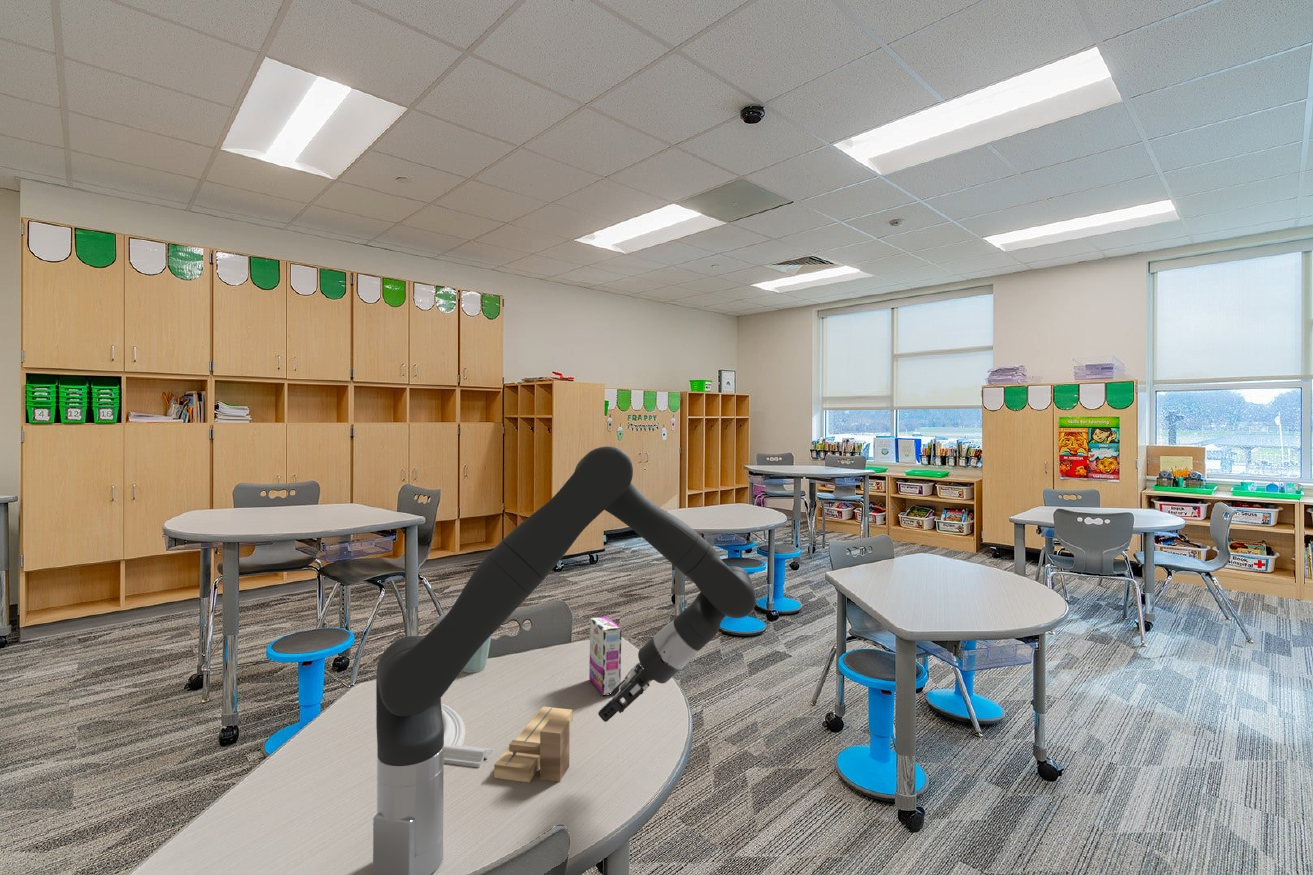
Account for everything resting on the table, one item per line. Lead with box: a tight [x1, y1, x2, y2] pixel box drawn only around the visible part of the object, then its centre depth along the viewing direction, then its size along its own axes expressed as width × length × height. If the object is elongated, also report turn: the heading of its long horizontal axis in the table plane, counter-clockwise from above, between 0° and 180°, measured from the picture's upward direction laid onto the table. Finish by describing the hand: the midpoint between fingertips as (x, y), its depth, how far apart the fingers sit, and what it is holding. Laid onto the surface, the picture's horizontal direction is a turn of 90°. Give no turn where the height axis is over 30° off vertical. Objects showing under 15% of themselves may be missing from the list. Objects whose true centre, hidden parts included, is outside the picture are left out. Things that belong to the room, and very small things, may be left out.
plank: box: [493, 706, 574, 783], centre depth 122 cm, size 24×7×3 cm, turn 169°
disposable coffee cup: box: [461, 635, 492, 674], centre depth 161 cm, size 11×11×15 cm
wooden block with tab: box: [508, 719, 571, 782], centre depth 113 cm, size 5×11×9 cm, turn 79°
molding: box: [441, 688, 494, 768], centre depth 131 cm, size 42×12×3 cm, turn 34°
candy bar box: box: [588, 616, 623, 696], centre depth 151 cm, size 11×5×16 cm, turn 25°
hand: (608, 706), depth 110 cm, fingers open, 8 cm apart
